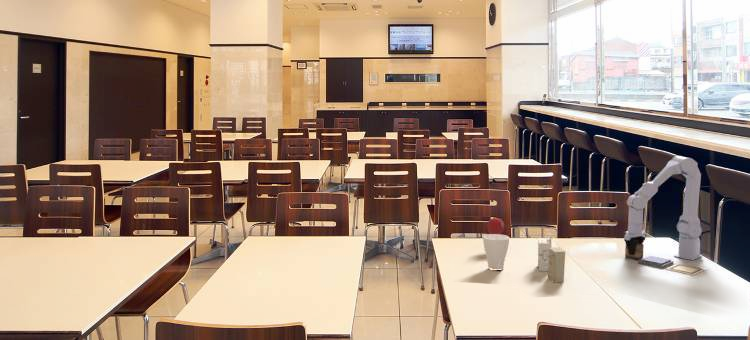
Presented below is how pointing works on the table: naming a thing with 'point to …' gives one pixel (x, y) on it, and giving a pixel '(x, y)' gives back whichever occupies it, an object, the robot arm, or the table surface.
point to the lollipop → (495, 226)
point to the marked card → (685, 269)
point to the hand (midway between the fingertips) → (634, 253)
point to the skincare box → (556, 264)
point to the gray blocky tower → (543, 253)
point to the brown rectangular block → (637, 254)
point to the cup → (496, 249)
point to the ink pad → (656, 262)
